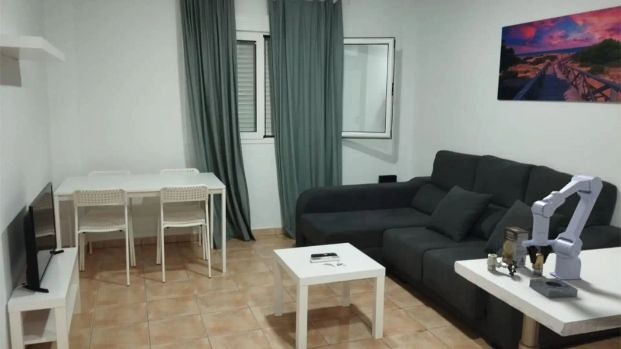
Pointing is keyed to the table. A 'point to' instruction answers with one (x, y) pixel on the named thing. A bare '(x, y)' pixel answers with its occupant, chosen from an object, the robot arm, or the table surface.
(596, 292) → the table surface
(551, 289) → the plate
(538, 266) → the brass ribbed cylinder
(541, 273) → the sleeve
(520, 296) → the table surface
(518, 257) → the coffee box
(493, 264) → the valve
